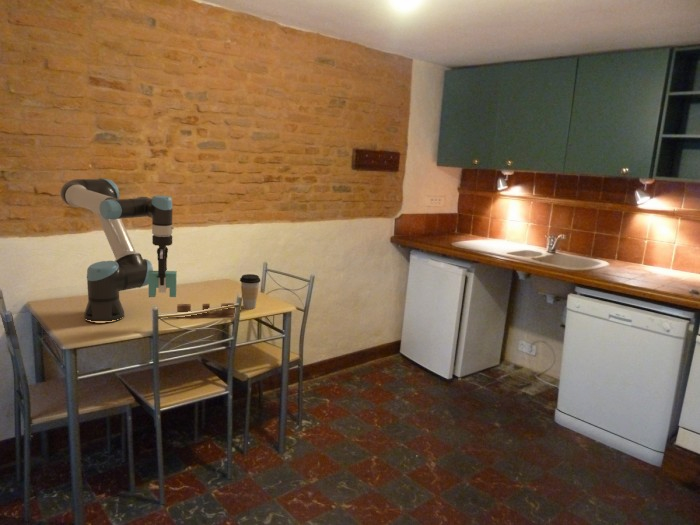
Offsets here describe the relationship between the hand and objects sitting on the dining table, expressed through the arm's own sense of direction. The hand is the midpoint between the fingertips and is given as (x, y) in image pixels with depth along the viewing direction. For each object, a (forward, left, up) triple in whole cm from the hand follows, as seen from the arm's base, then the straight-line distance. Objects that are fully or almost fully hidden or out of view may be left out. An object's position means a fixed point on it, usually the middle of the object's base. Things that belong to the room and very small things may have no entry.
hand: (162, 290), depth 209 cm
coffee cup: (+37, +19, -15) cm, 44 cm away
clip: (0, 0, -2) cm, 2 cm away
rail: (+17, +9, -14) cm, 24 cm away
